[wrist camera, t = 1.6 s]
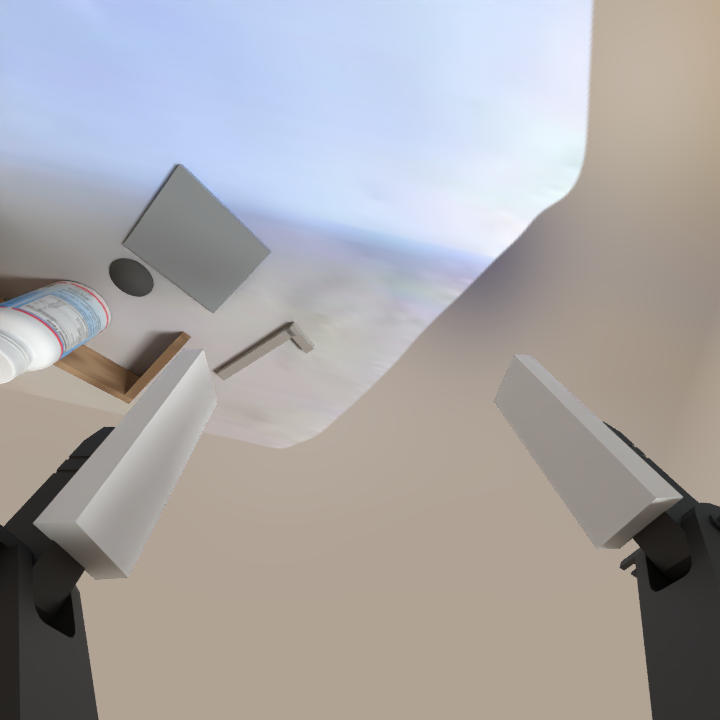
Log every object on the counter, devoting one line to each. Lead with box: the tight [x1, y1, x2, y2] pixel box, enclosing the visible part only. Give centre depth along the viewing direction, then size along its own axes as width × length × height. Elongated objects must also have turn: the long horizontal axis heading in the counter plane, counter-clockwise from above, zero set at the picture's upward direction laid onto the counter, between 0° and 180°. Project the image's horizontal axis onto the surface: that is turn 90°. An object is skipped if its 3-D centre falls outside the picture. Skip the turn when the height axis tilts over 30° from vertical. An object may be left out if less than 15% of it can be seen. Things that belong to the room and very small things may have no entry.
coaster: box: [123, 164, 271, 313], centre depth 29 cm, size 10×10×1 cm
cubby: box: [0, 298, 190, 404], centre depth 30 cm, size 20×11×4 cm, turn 41°
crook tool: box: [217, 322, 314, 380], centre depth 37 cm, size 4×13×1 cm, turn 122°
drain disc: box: [110, 259, 153, 296], centre depth 30 cm, size 4×4×1 cm
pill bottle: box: [0, 281, 111, 384], centre depth 27 cm, size 6×6×11 cm
